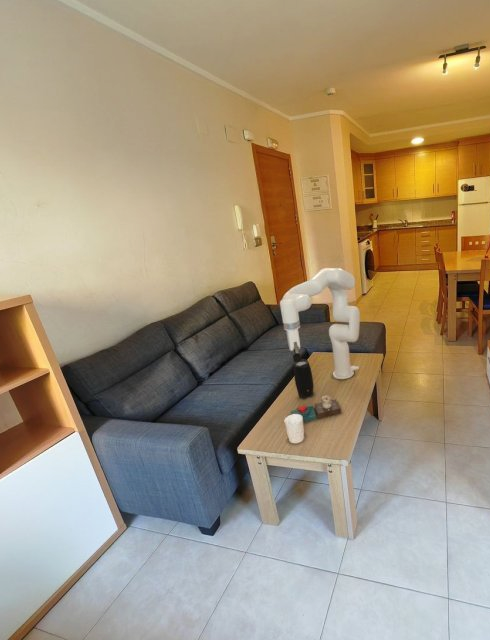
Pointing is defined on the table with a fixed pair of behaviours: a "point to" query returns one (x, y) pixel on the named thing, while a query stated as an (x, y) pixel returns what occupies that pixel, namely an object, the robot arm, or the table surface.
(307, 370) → the portable speaker
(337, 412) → the dial panel
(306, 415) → the button block
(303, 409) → the button
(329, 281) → the robot arm
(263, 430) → the table surface
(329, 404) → the dial
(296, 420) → the white cup
